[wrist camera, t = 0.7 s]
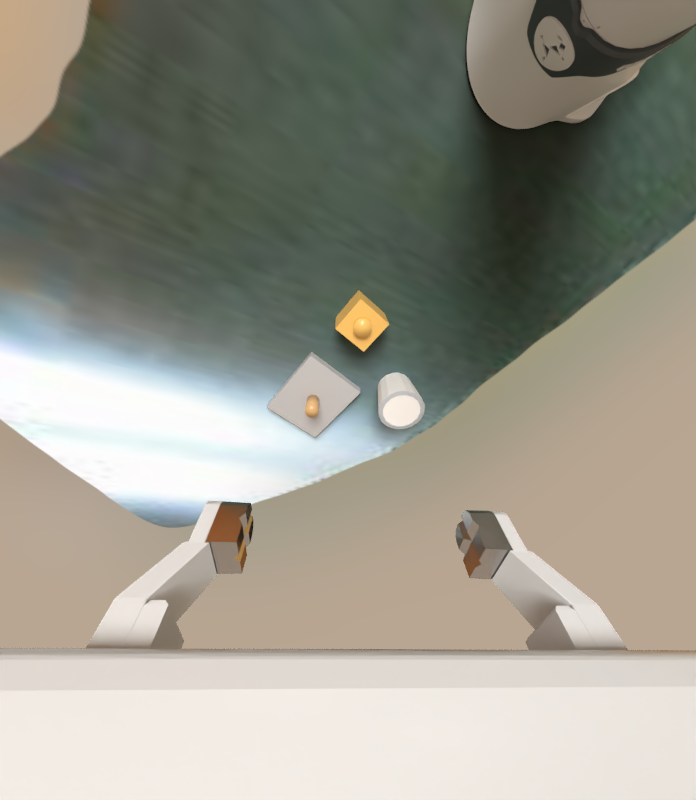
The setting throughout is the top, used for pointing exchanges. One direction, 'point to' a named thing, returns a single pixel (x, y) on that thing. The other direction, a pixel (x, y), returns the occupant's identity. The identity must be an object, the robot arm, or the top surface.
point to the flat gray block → (313, 395)
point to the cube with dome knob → (361, 321)
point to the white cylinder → (399, 402)
